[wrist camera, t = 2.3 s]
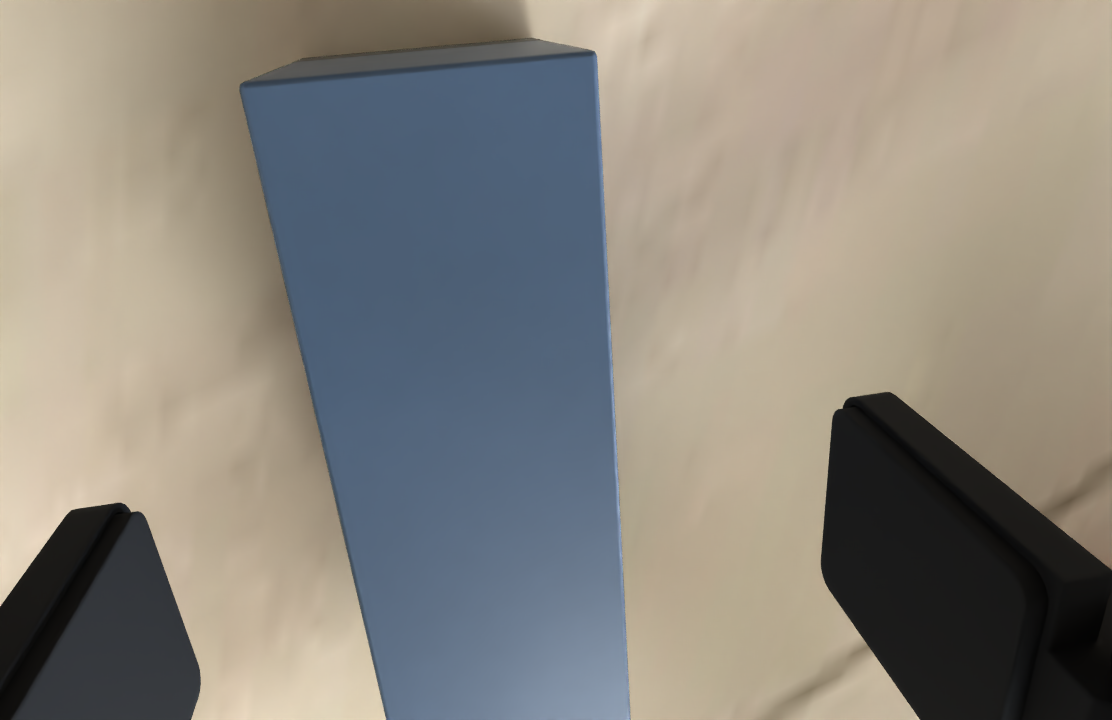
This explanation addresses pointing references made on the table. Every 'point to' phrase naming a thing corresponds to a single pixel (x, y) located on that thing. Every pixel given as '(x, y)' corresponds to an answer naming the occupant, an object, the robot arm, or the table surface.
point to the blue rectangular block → (459, 363)
